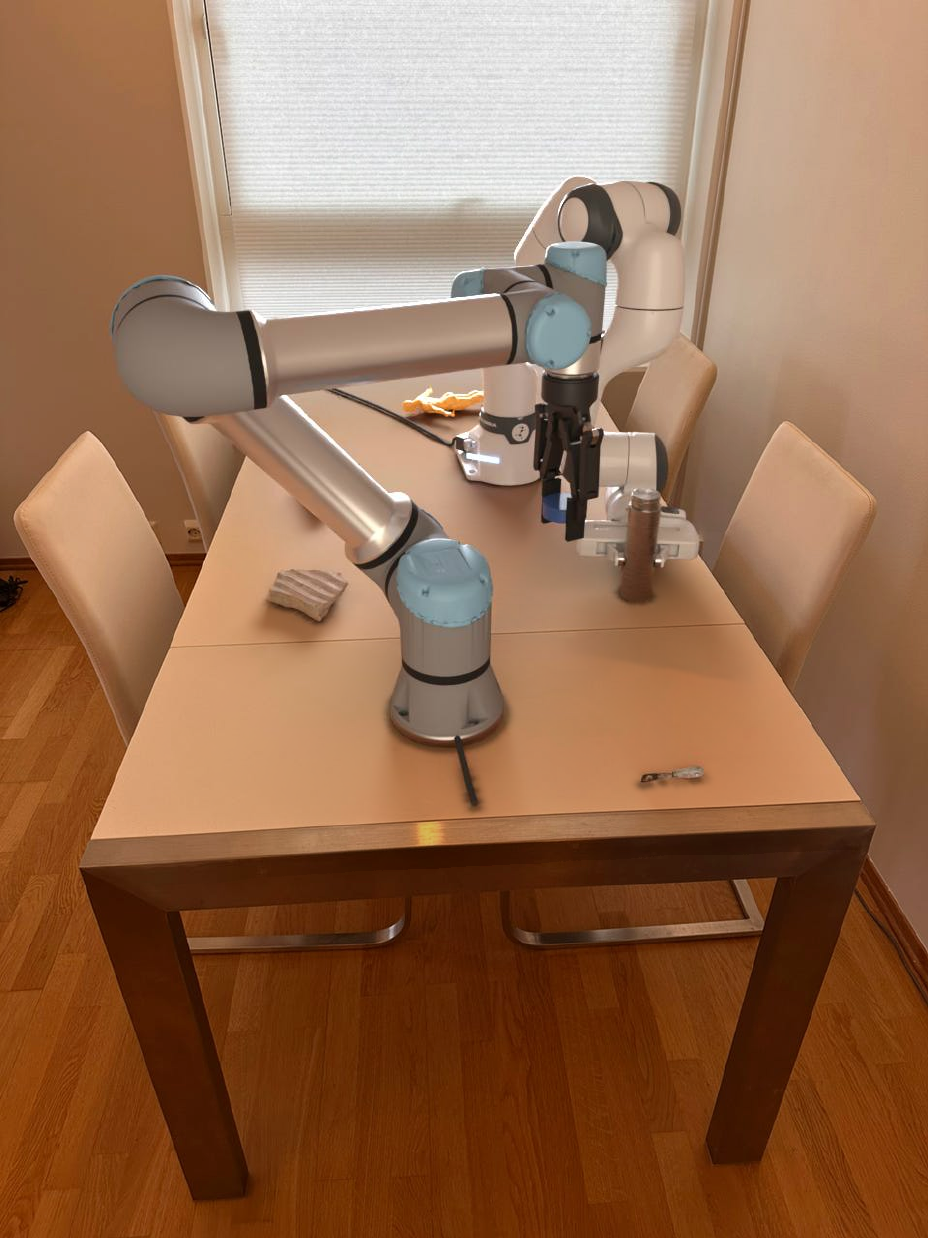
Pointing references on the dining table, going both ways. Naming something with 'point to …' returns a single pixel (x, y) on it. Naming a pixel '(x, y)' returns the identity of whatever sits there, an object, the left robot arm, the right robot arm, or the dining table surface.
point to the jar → (640, 545)
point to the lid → (555, 507)
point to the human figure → (442, 402)
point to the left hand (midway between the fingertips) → (562, 529)
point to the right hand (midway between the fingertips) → (639, 562)
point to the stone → (307, 590)
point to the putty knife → (674, 774)
